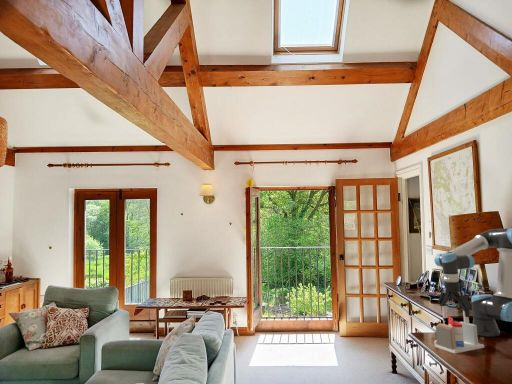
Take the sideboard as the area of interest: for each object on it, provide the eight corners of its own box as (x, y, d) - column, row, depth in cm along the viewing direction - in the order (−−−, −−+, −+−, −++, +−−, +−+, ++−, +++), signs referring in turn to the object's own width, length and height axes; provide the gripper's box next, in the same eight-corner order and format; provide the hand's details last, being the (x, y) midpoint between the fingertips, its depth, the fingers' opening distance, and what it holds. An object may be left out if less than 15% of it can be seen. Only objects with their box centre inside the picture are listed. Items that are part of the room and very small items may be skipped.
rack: (463, 341, 213) (461, 318, 214) (484, 347, 201) (481, 323, 202) (434, 346, 205) (432, 323, 206) (454, 353, 193) (452, 328, 194)
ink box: (464, 347, 198) (461, 318, 200) (454, 346, 199) (452, 318, 201) (459, 342, 206) (456, 315, 208) (449, 342, 207) (447, 315, 209)
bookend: (463, 339, 210) (462, 321, 211) (478, 343, 202) (476, 325, 203) (460, 340, 209) (458, 322, 211) (474, 344, 201) (473, 325, 202)
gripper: (428, 279, 216) (432, 316, 214) (466, 284, 193) (471, 326, 191) (438, 278, 219) (442, 315, 217) (476, 283, 196) (481, 324, 194)
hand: (455, 320), depth 204 cm, fingers open, 13 cm apart
